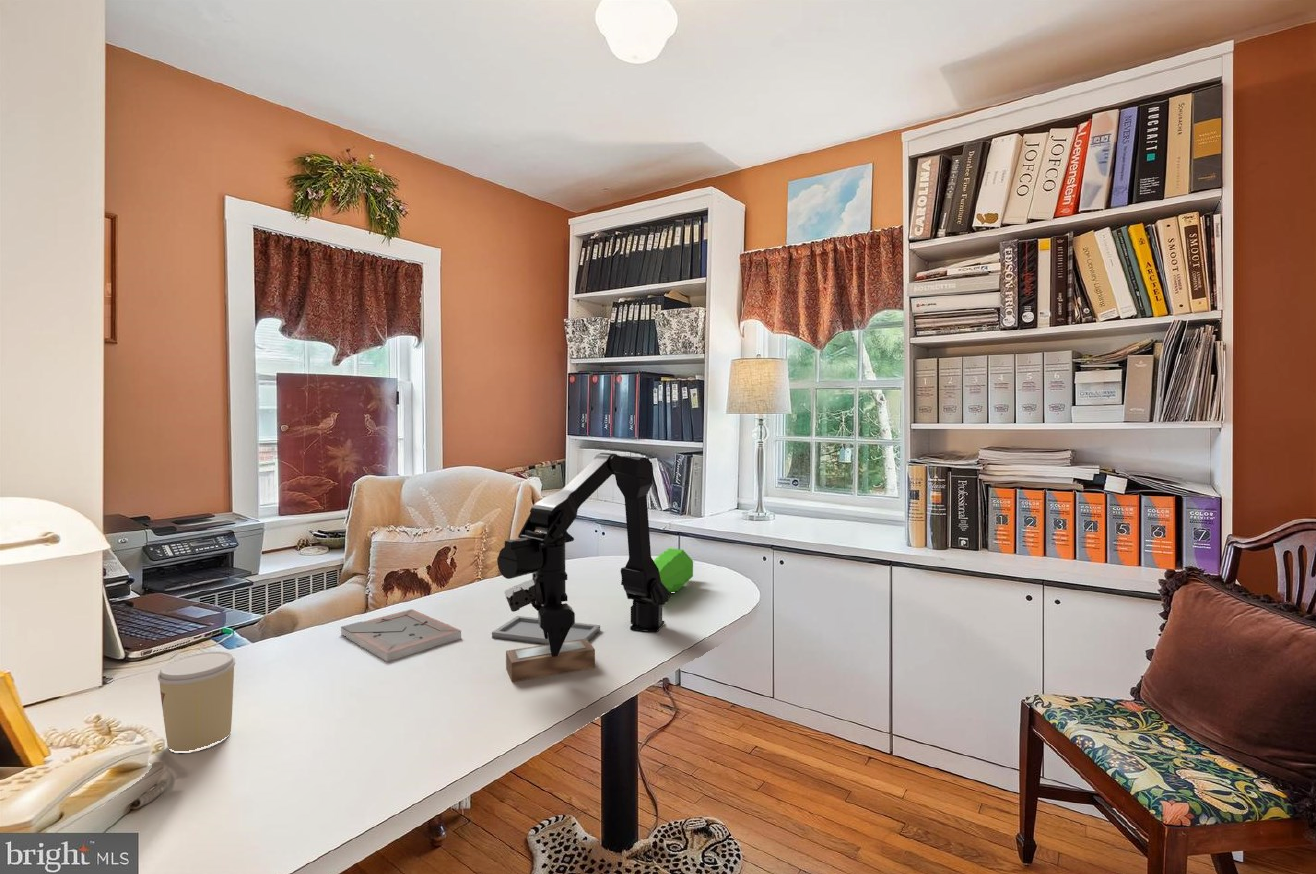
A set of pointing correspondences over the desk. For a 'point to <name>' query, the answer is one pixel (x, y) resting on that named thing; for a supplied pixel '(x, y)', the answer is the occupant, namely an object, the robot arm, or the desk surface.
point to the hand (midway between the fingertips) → (550, 647)
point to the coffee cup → (197, 699)
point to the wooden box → (549, 660)
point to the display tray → (540, 631)
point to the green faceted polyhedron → (674, 568)
